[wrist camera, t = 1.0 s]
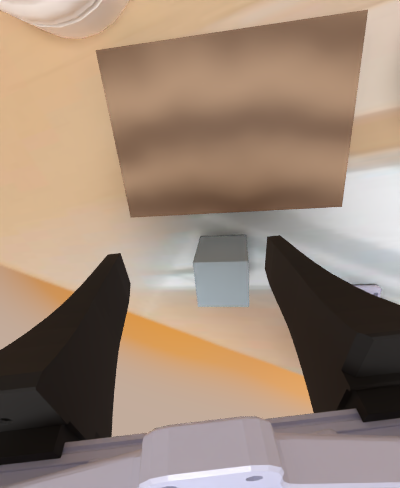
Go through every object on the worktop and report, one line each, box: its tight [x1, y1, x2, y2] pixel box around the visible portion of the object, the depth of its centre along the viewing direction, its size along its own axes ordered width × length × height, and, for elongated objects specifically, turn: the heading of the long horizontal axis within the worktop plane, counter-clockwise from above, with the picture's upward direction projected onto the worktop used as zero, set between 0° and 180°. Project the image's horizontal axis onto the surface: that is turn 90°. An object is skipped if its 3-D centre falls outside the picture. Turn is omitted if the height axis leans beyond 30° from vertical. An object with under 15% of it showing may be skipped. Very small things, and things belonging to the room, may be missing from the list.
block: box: [193, 235, 249, 307], centre depth 28 cm, size 5×5×6 cm
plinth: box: [96, 10, 368, 217], centre depth 24 cm, size 14×20×2 cm
